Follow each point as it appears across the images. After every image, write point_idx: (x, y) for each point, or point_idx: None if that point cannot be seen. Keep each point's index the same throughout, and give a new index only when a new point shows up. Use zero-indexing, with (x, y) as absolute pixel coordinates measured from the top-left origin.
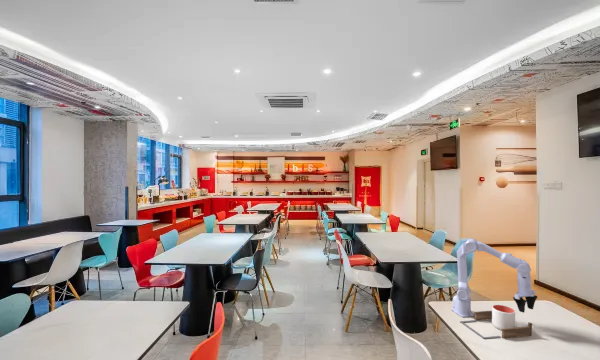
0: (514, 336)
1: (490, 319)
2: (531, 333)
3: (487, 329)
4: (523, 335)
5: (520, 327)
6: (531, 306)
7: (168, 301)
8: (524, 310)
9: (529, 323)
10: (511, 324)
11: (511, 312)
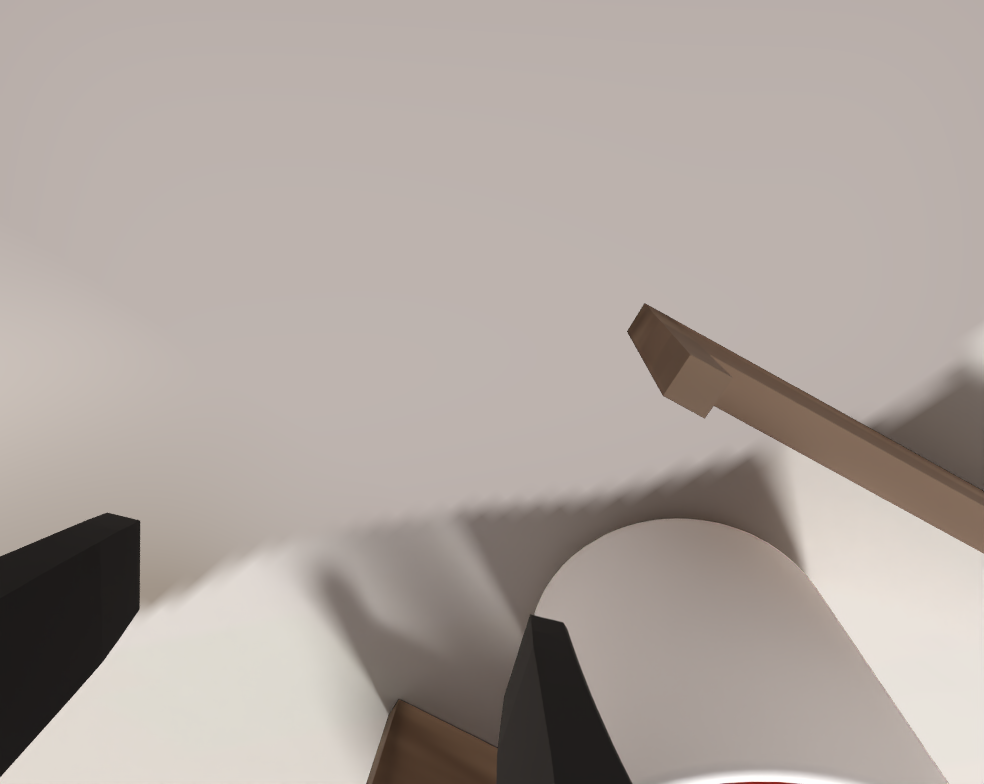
0: (927, 462)
1: None
2: (655, 312)
3: None
4: (787, 383)
5: (863, 471)
6: (78, 589)
7: None
8: (548, 653)
9: (719, 388)
10: (804, 601)
11: None
